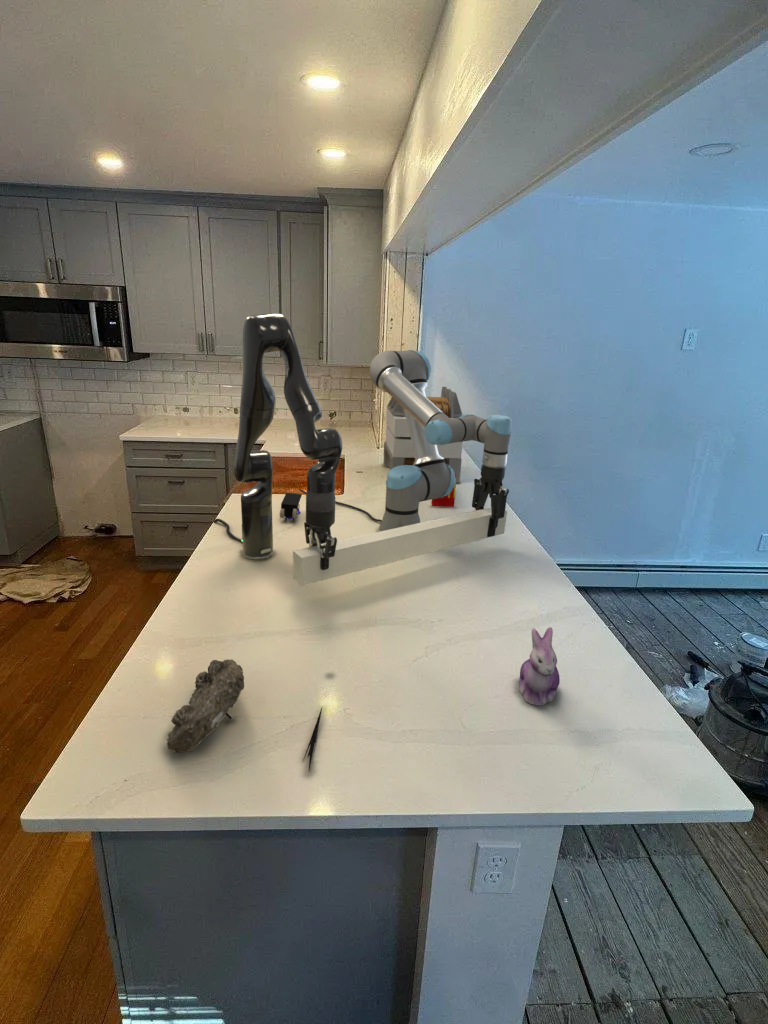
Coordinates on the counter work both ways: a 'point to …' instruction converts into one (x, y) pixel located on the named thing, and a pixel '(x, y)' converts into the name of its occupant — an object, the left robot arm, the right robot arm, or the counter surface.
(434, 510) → the counter surface
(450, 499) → the toy
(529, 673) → the figurine
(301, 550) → the beam
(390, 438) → the grey wooden crate
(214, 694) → the fossil
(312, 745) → the feather
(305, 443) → the left robot arm
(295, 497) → the figurine character
